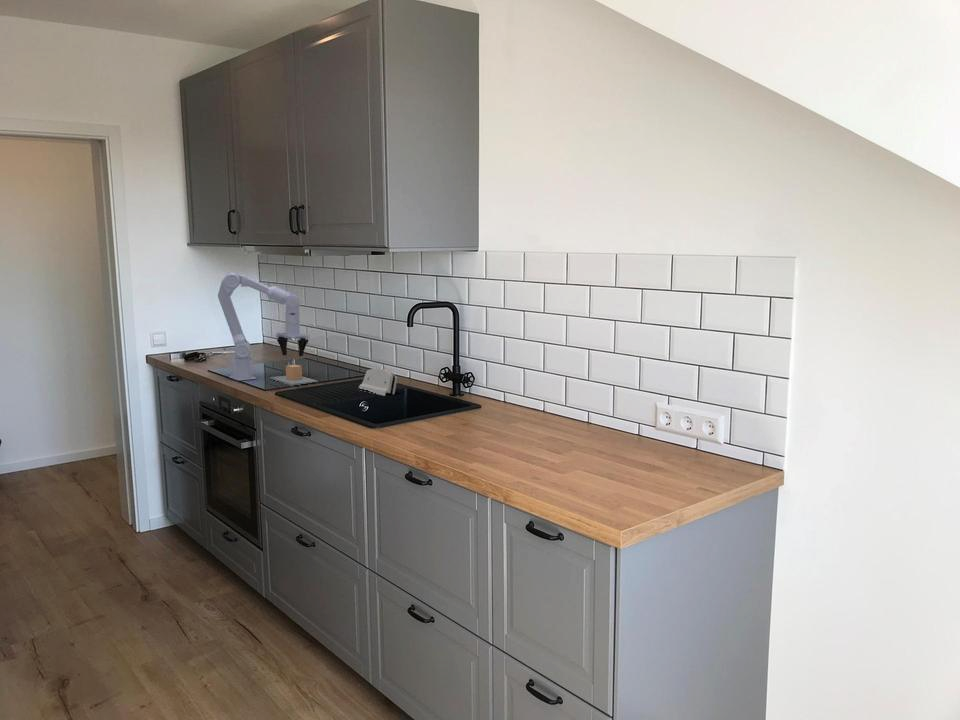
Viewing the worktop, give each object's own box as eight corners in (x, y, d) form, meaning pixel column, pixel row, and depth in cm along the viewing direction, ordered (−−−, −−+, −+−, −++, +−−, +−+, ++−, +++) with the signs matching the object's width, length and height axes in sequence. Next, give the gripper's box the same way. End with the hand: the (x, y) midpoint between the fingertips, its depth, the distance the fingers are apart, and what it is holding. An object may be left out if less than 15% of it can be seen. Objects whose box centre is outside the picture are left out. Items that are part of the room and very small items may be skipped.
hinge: (357, 389, 313) (364, 365, 314) (366, 391, 317) (373, 367, 318) (384, 395, 302) (391, 370, 303) (393, 398, 306) (400, 373, 306)
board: (270, 379, 329) (270, 370, 328) (296, 376, 337) (296, 367, 336) (291, 386, 316) (291, 376, 315) (318, 383, 324) (318, 373, 323)
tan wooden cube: (285, 379, 326) (285, 365, 325) (294, 377, 329) (294, 364, 329) (292, 380, 323) (292, 367, 322) (302, 379, 327) (301, 365, 326)
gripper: (272, 323, 329) (272, 355, 331) (303, 325, 326) (304, 358, 328) (280, 321, 336) (280, 353, 338) (311, 323, 333) (311, 355, 335)
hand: (292, 355), depth 333 cm, fingers open, 7 cm apart
